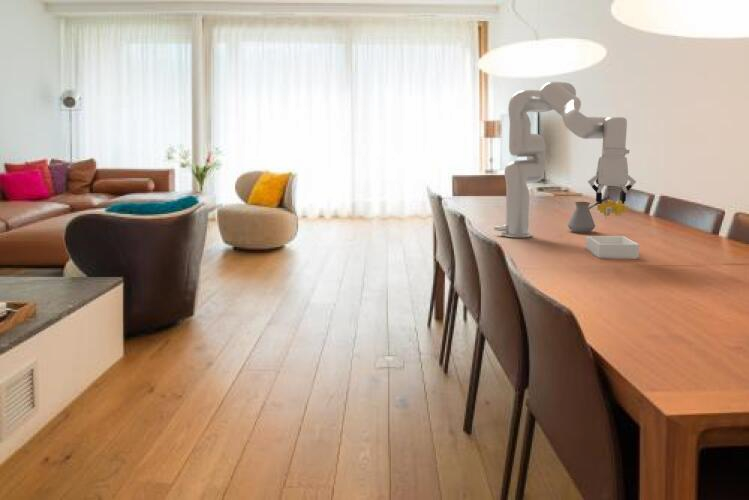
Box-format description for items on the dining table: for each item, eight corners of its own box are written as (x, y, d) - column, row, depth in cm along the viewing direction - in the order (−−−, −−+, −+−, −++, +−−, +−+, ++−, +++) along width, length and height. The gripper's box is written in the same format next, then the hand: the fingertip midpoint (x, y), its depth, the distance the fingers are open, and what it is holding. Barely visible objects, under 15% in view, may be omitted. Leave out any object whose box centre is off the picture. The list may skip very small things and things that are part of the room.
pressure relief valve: (597, 212, 221) (627, 214, 218) (596, 222, 210) (627, 224, 207) (598, 198, 219) (628, 199, 216) (597, 207, 209) (629, 208, 205)
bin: (598, 258, 212) (599, 244, 211) (585, 248, 229) (586, 235, 228) (638, 258, 211) (639, 244, 210) (622, 249, 228) (623, 236, 227)
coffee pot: (579, 234, 261) (581, 199, 259) (561, 230, 272) (563, 197, 269) (618, 231, 269) (620, 197, 267) (599, 227, 280) (601, 194, 277)
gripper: (635, 152, 217) (632, 202, 220) (585, 153, 219) (582, 202, 222) (642, 153, 210) (639, 204, 213) (590, 153, 211) (587, 204, 215)
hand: (610, 203), depth 217 cm, fingers closed on pressure relief valve, 7 cm apart
